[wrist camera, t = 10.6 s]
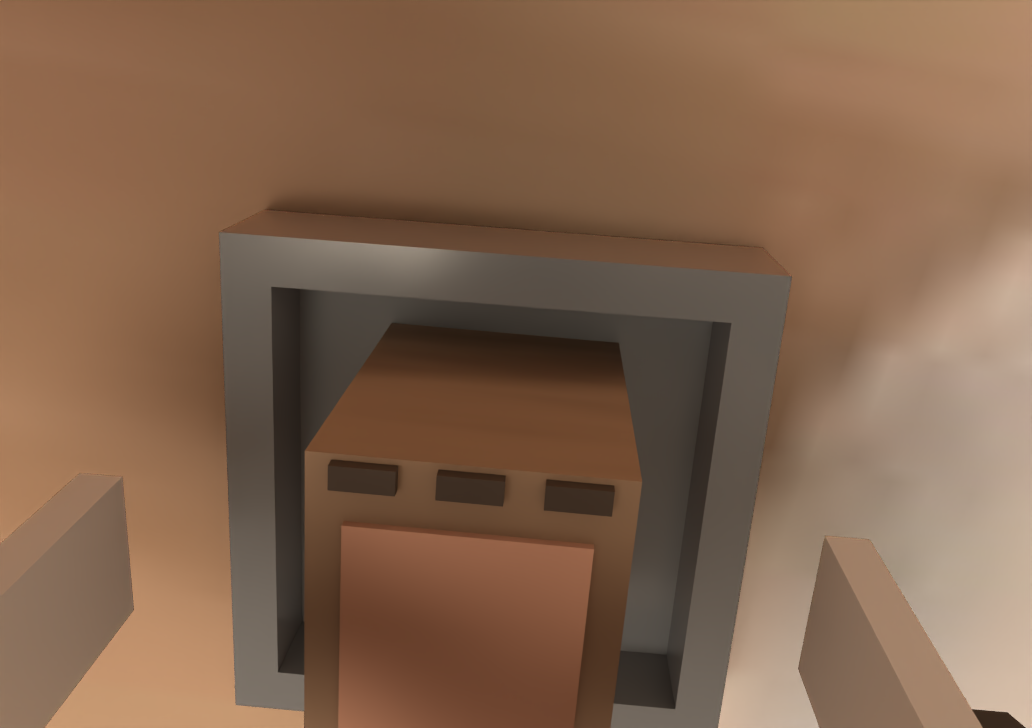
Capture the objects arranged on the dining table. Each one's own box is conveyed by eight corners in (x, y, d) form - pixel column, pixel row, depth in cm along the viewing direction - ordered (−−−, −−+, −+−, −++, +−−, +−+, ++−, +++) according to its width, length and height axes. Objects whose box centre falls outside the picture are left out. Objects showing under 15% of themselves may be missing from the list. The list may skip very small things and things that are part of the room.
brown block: (391, 323, 20) (300, 456, 14) (618, 342, 20) (643, 488, 13) (383, 562, 22) (300, 786, 15) (591, 582, 22) (600, 817, 15)
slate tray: (264, 209, 21) (219, 232, 18) (762, 247, 20) (792, 276, 18) (272, 633, 24) (235, 704, 21) (698, 672, 24) (713, 749, 21)
